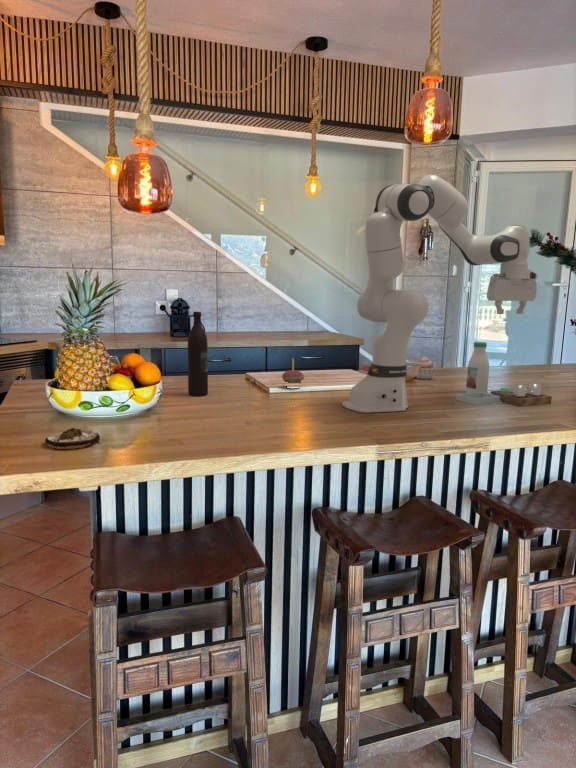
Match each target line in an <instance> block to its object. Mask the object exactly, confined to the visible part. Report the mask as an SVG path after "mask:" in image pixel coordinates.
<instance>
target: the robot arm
mask: <svg viewBox="0 0 576 768" xmlns="http://www.w3.org/2000/svg"><path fill="white" fill-rule="evenodd" d="M377 194H378V195H377V196H376V198H375V207H374V209H373V213H372V214H371V215H370V216H369V217H368V218H367V219H366V222H365V245H366V254H367V263H368V264H367V265H368V281H367V285H366V287H365V289H364V290H363V292H362V293H361V294H360V295H359V297H358V299H357V303H356V308H357V312H358V315H359V317H361V318H362V319H365V320H368V321H369V322H376V323H386V326H385V330H384V332H383V333H382V334H380V335H378V336H377V337H375V339H374V341H373V345H372V363H371V364H370V366H369V365H366V364H363V365H362V368H361V370H362V371H363V372H367V375H366V376H365V377H363V378H362V379H361V380H360V381H358V382H357V383H356V384H355V385H353V386H352V387H351V390H350V392H349V397H348V400H345V401H343V402H342V407H344V408H346V409H348V410H351V411H354V412H358V413H382V412H383V413H385V412H388V413H389V412H404V411H406V410H407V408H409V403H408V397H407V391H406V388H407V387H406V378H407V374H408V373H407V372H408V367H407V366H408V364H407V351H408V343H409V340H410V337H411V335H412V333H413V331H414V330H415V328H416V327H417V326H418V325H419V324H420V323H421V322H423V321H424V320H425V318H426V317H427V315H428V312H429V308H430V307H429V300H428V299H427V296H426V295H425V294H424V293H422V292H419V291H415V290H411V289H394V281H395V279H396V278H398V277H399V276H400V275H401V274H402V273H403V272H404V269H405V262H404V254H403V246H402V240H401V239H402V237H401V227H402V224H403V222H408V221H409V222H415V221H418V220H420V219H422V218H424V217H425V216H426V215H427V214H428V215H429V217H431V218H432V219H433V220H434V221H435V222H436V223H437V224H438V227H439V228H440V229H441V231H442V232H443V233H444V234H445V235H446V236H447V237H448V238H449V240H450V241H451V242H452V243H453V244H454V245H455V246H456V247H457V248H458V249H459V251H460V253H461V255H462V256H463V259H464V260H465V262H466V263H468V264H469V265H471V266H480V265H481V266H482V265H494V264H495V265H496V264H500V267H499V268H500V270H499V273H494V274H492V275H491V276H490V278H489V283H488V286H487V291H486V299H487V301H490V302H493V301H494V305H495V309H496V314H497V315H503V314H505V313H504V311H505V310H504V308H503V307H502V305H503V301H504V302H519V303H518V304H519V306H518V308H516V314H517V315H523V314H524V309H525V308H526V306H527V302H533V301H535V299H536V297H537V289H538V288H537V286H538V284H537V281H536V280H538V277H539V275H538V273H536V272H535V271H533V270H531V269H530V268H528V267H529V263H528V256H529V254H530V247H531V246H530V242H531V241H530V239H531V238H530V236H531V235H530V231H529V228H527V227H525V226H522V225H516V224H515V225H507V226H506V227H505V228H504V229H503V230H502V231H500V232H498V233H495V234H491V235H490V234H489V235H475V234H473V233H472V232H470V231H469V228H467V227H466V225H464V224H463V223H464V221H465V219H466V218H467V215H468V212H469V202H468V201H467V199H466V197H465V196H464V195H463V194H462V193H461V192H460V191H459V190H458V189H457V188H456V187H455V186H453V185H452V184H451V183H450V182H448V181H447V180H445V179H443V178H442V177H440V176H438V175H436V174H427V175H425V176H423V177H422V178H421V179H420V180H419V181H417V183H414V184H413V183H411V184H410V183H398V184H390V185H387V186H385V187H384V188H382V189H381V190H380V191H379V192H378V193H377Z"/></svg>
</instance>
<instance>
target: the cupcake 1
mask: <svg viewBox="0 0 576 768" xmlns="http://www.w3.org/2000/svg"><path fill="white" fill-rule="evenodd" d="M291 362H292V363H291V370H289V369H288V370H285V372H283V373H282V377H281V378H282V380H283V381H284V383H285V382H288V383H300V384H301V382H302V380H304V379H305V376H304V375H305V374H303V372H301V371H299V370H295V359H294V358H292V359H291Z"/></svg>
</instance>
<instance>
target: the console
mask: <svg viewBox="0 0 576 768" xmlns="http://www.w3.org/2000/svg"><path fill="white" fill-rule="evenodd" d="M513 392H514V391H513V390H510V393H507V394H505V393H501V392H500V390H499V389H498V390H491V391H490V394H492V395H496V396H500V402H502V396H503V395H510V394H513Z"/></svg>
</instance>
